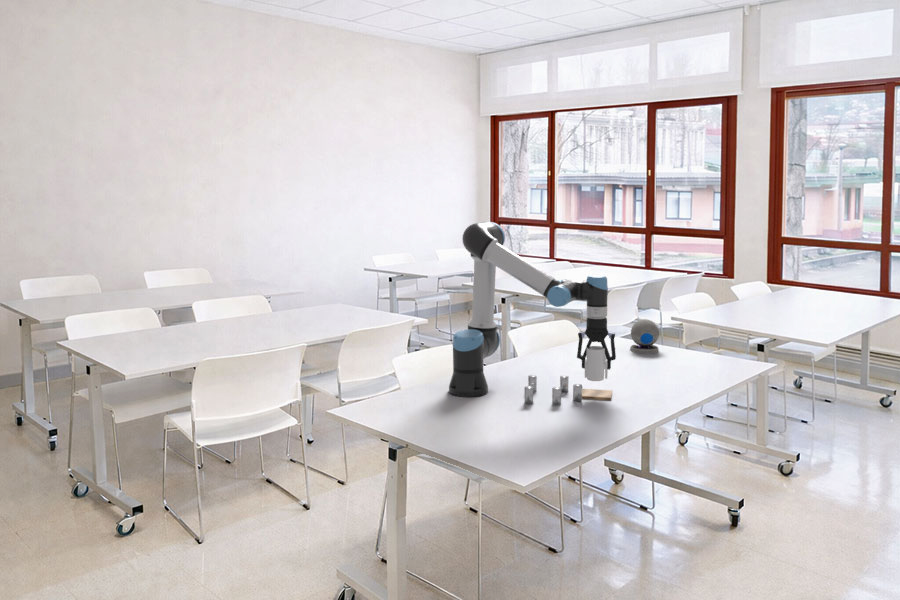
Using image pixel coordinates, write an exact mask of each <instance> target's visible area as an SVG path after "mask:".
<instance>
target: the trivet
mask: <svg viewBox="0 0 900 600" xmlns="http://www.w3.org/2000/svg"><path fill="white" fill-rule="evenodd" d="M612 395H613V390H610V389H609V390H608V389H596V388H595V389H593V388H582V400H583V399H585V400H598V401H599V400H600V401H612Z"/></svg>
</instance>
